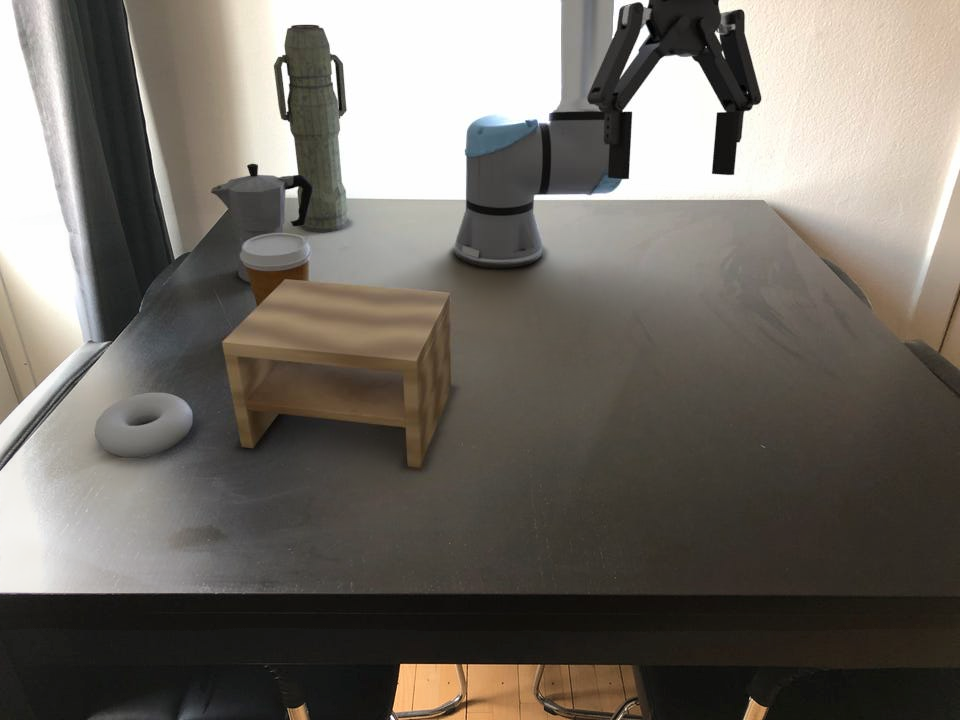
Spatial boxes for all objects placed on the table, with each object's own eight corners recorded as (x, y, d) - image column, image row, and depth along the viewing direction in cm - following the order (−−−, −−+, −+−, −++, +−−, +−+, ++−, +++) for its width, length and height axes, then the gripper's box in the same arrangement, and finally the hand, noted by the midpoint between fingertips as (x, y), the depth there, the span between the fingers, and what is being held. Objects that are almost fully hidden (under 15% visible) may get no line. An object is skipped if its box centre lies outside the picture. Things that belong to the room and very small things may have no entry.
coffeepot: (229, 290, 116) (210, 176, 107) (222, 268, 123) (204, 160, 114) (327, 276, 121) (316, 166, 112) (315, 255, 128) (304, 151, 120)
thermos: (363, 225, 142) (348, 26, 125) (305, 236, 137) (281, 30, 119) (343, 212, 149) (327, 22, 131) (287, 223, 143) (262, 25, 125)
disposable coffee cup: (303, 341, 101) (293, 259, 95) (239, 334, 103) (225, 253, 97) (329, 311, 109) (321, 234, 103) (269, 305, 111) (258, 229, 105)
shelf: (297, 373, 94) (285, 279, 88) (451, 388, 91) (450, 292, 85) (241, 447, 80) (221, 342, 74) (420, 468, 78) (416, 360, 71)
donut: (96, 425, 84) (101, 474, 76) (88, 400, 82) (93, 446, 74) (188, 404, 88) (202, 448, 80) (182, 379, 86) (196, 421, 78)
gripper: (599, -68, 65) (590, 182, 71) (812, -44, 74) (787, 174, 80) (556, -49, 71) (552, 178, 77) (757, -30, 81) (739, 171, 87)
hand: (672, 176), depth 79 cm, fingers open, 13 cm apart
